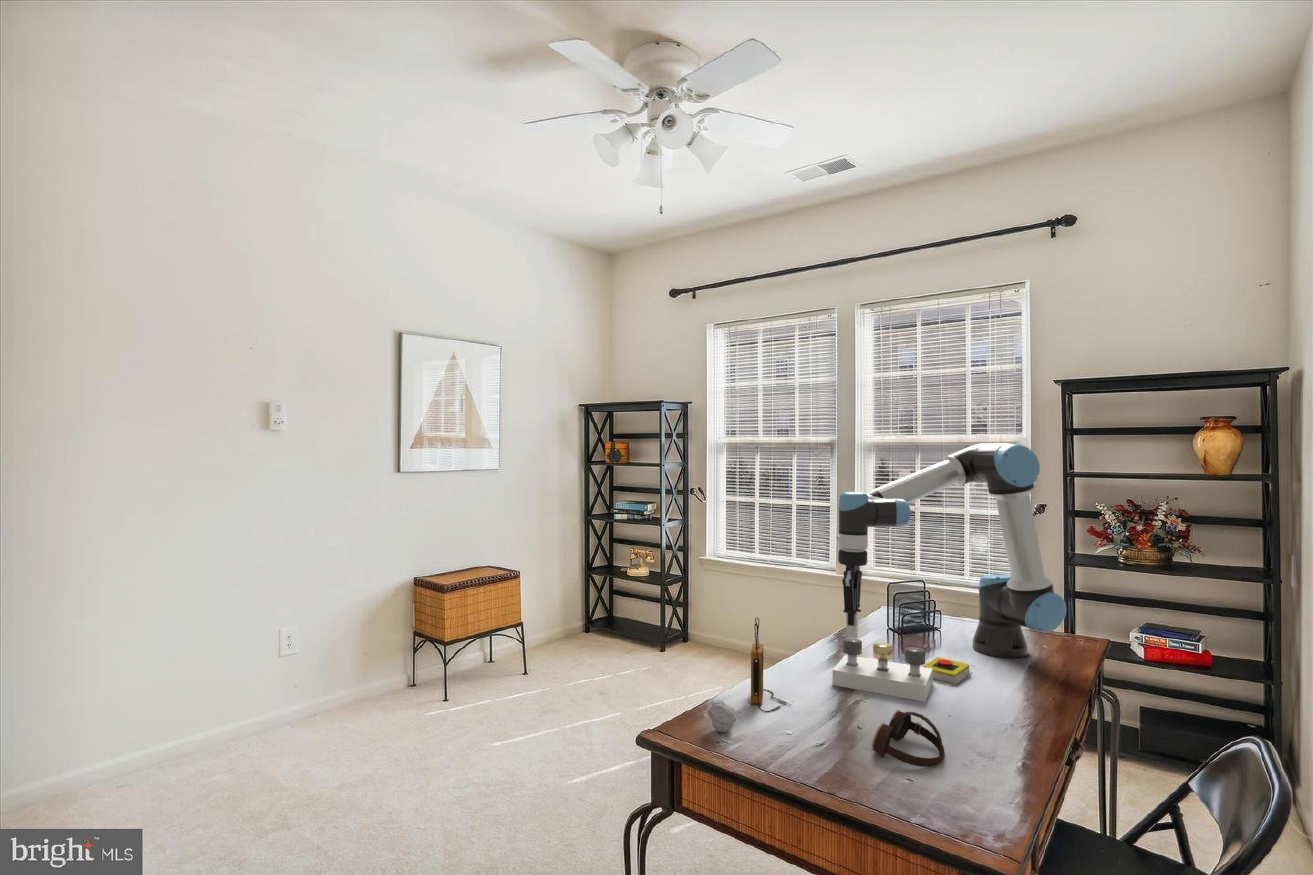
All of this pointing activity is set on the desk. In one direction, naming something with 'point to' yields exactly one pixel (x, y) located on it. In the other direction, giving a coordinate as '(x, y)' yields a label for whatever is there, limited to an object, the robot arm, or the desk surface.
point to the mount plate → (883, 678)
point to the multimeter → (758, 673)
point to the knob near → (914, 659)
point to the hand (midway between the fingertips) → (851, 636)
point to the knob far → (852, 650)
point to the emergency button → (948, 671)
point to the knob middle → (883, 655)
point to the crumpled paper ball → (721, 715)
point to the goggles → (898, 731)
